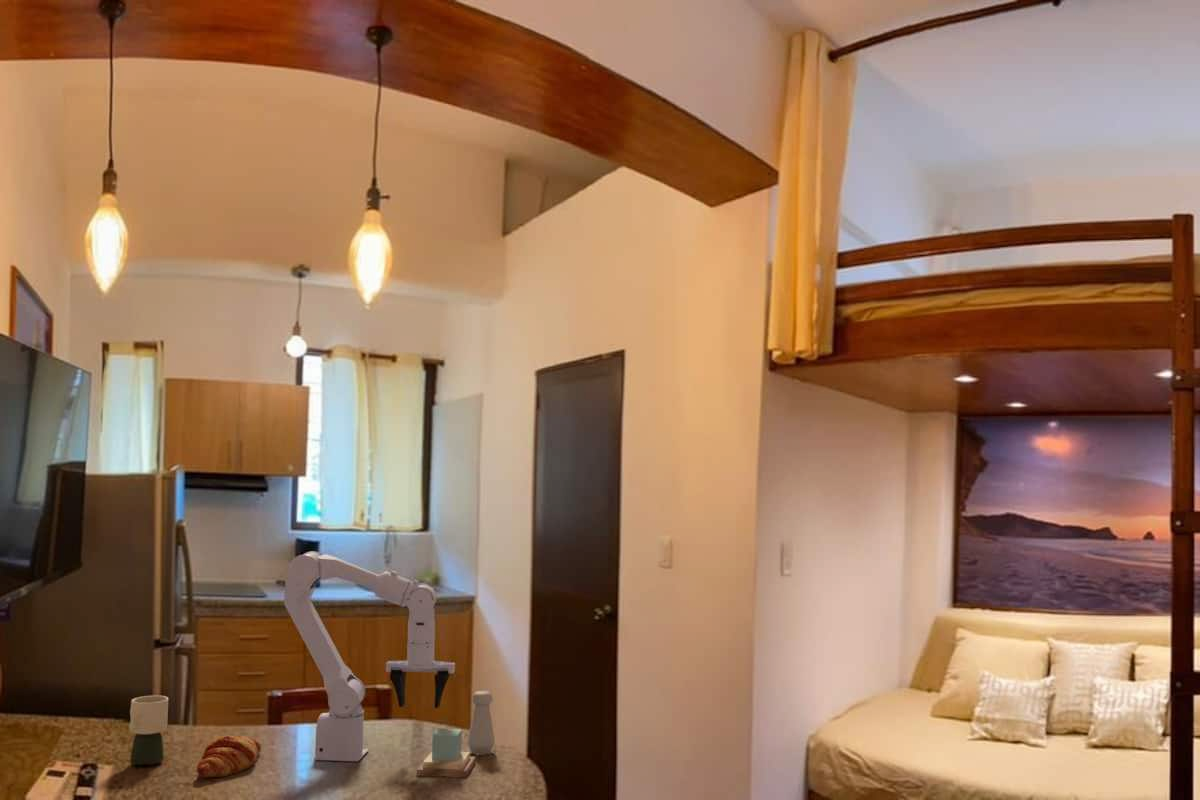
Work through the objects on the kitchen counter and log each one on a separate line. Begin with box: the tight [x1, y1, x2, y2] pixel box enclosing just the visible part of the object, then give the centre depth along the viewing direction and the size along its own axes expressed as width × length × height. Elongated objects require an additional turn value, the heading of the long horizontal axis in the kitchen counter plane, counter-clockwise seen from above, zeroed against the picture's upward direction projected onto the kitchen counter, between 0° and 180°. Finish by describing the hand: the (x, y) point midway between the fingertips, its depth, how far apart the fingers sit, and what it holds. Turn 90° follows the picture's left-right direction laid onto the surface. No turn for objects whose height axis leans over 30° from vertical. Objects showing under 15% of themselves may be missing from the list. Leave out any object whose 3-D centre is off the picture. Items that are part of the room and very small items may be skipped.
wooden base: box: [416, 750, 476, 778], centre depth 204 cm, size 10×10×2 cm
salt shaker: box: [467, 690, 496, 756], centre depth 216 cm, size 6×6×13 cm
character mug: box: [128, 695, 169, 767], centre depth 204 cm, size 11×7×13 cm, turn 169°
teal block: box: [431, 728, 463, 761], centre depth 204 cm, size 5×5×5 cm
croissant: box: [196, 735, 263, 778], centre depth 203 cm, size 21×10×8 cm, turn 169°
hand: (419, 706), depth 213 cm, fingers open, 7 cm apart
